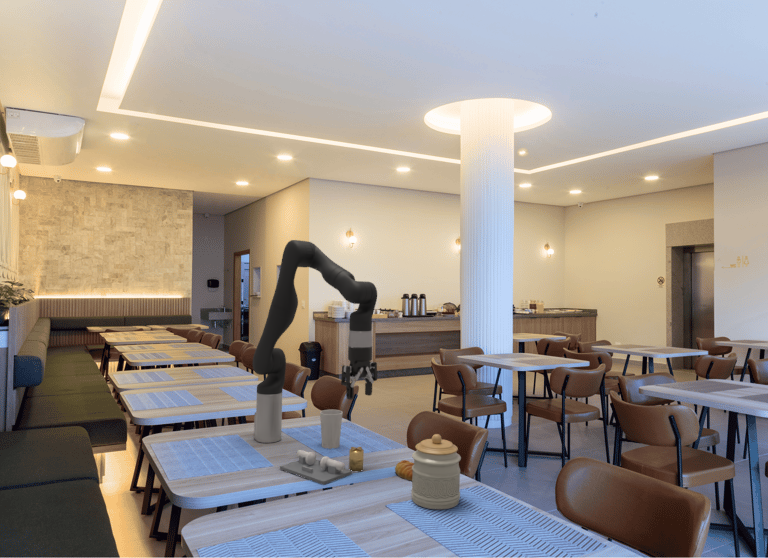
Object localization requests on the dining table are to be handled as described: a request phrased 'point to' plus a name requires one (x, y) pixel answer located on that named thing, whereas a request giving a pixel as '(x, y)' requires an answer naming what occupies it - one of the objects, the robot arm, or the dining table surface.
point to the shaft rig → (317, 468)
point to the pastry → (404, 469)
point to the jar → (436, 474)
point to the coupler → (356, 458)
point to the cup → (331, 428)
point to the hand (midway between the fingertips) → (359, 397)
